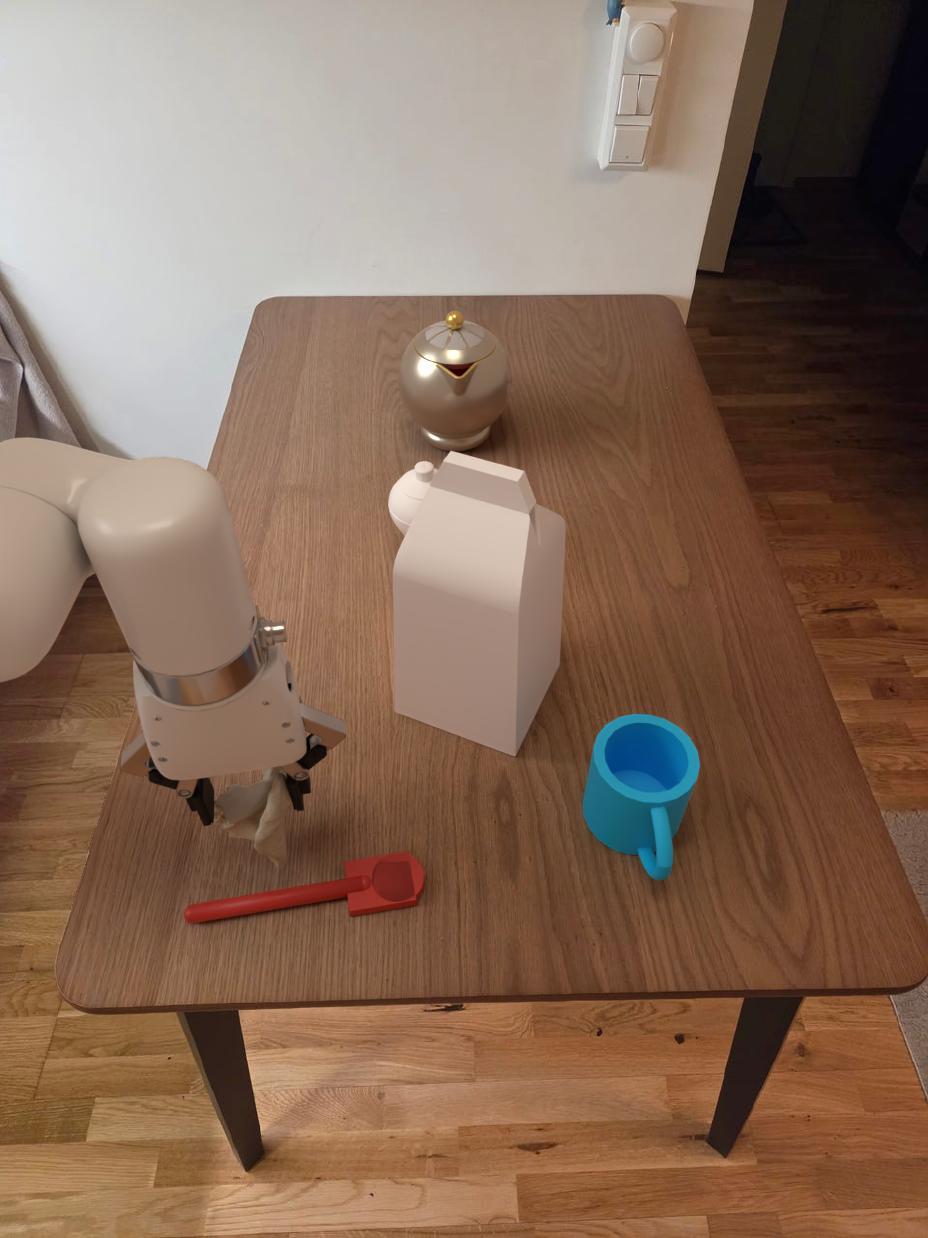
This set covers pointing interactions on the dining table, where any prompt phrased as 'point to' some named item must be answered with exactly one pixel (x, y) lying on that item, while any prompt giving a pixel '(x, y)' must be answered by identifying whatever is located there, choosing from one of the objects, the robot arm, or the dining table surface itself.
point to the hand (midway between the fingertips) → (253, 800)
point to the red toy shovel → (333, 890)
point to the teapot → (455, 382)
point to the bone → (257, 813)
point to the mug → (640, 788)
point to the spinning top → (410, 494)
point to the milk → (478, 604)
